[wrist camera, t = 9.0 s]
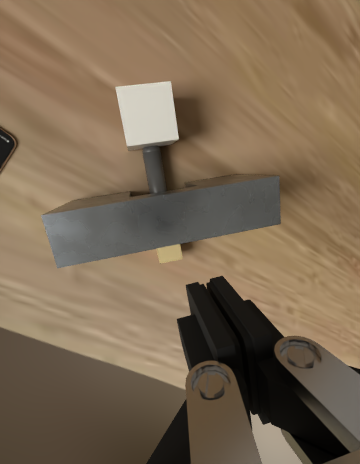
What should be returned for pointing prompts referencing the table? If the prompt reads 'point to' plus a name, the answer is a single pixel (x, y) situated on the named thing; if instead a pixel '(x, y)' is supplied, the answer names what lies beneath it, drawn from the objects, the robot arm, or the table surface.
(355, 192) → the table surface
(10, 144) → the smartphone
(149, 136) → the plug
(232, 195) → the block
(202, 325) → the robot arm
